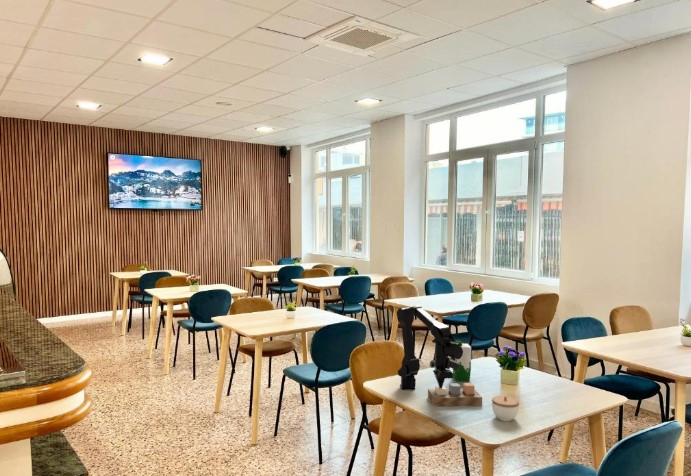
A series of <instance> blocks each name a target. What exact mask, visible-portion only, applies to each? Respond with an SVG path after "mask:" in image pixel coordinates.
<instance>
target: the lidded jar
mask: <svg viewBox="0 0 691 476" xmlns="http://www.w3.org/2000/svg"><path fill="white" fill-rule="evenodd" d="M491 402H492V403H491V406H492V412H493V414H494V415H495V416H496V417H497V419H498V420H500V421H503V422H512V421H513V419H515V418H516V417H517V415H518V412H519V404H520V402H519V400H518V399H516V398H515V397H512V396H508V395H495V396H493V397H492V399H491Z"/></svg>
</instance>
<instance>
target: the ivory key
mask: <svg viewBox="0 0 691 476" xmlns="http://www.w3.org/2000/svg"><path fill="white" fill-rule="evenodd" d="M434 389H435V394H436V395H446V389H447V388H446V386H444V385H443V386H442V388H440V387H439V385H435V388H434Z"/></svg>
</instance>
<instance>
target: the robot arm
mask: <svg viewBox="0 0 691 476" xmlns="http://www.w3.org/2000/svg"><path fill="white" fill-rule="evenodd" d="M396 317H397V321H398V323H399V325H400V327H401V333H402V334H401V335H402V344H403V345H402V346H403V354H404V355H403V358H402V360H401V367H400V368H399V369H398V370H397V375H398V376H399V377H400V385H399V386H400V389H401V390H403V391H404V390H407V391H408V390H410V391H411V390H413V391H414V390H416V384H417V383H416V377H415V376H417V375H418V374H419V371H420V367H421V363H420V358H419V357H417V356H416V355H415V346H414V335H413V327H412V326H413V323H414V320H415V317H416V318H417V319H418V320H420V321H421V323H422V324H424V325H425V327H427V328H428V329H429V331H430V334H431V336H432V337H434V338H433V339H432V340H431V343H433V344H435V345H434V352H435V353H434V354H433V358H434V359H433V360H431V361H430V362H429V367H430V368H434V370H432V372H433V374H434V378H435V379H436V382H437V386H439V387H440V388H442V386H444V383H445V380H446V379H454V377H453V371H451V369H452V370H453V369H455V370H457V371H458V370H459V367H460V365H461V364H460V363H459V362H457V361H456V360H455V359H460V358H461V357H462V355H463V350H462V347H460V343H455V341H456V339H455V337H454V336H453V333H452V331H451V328H450V326H448V325H446V324H444V323H442V322H439V321H437V320H436V319H435V318H434V317H433V316H431V315H430V314H429V312H427V311H426V310H424V308H423V307H422V306H421V305H413V306H412V307H410V306H409V307H400V308H398V310H396Z"/></svg>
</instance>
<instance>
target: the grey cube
mask: <svg viewBox="0 0 691 476" xmlns="http://www.w3.org/2000/svg"><path fill="white" fill-rule="evenodd" d="M448 389H449V392H450V394H451V395H460V389H461V385H460V384H459V383H458V382H456V383H449V386H448Z"/></svg>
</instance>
